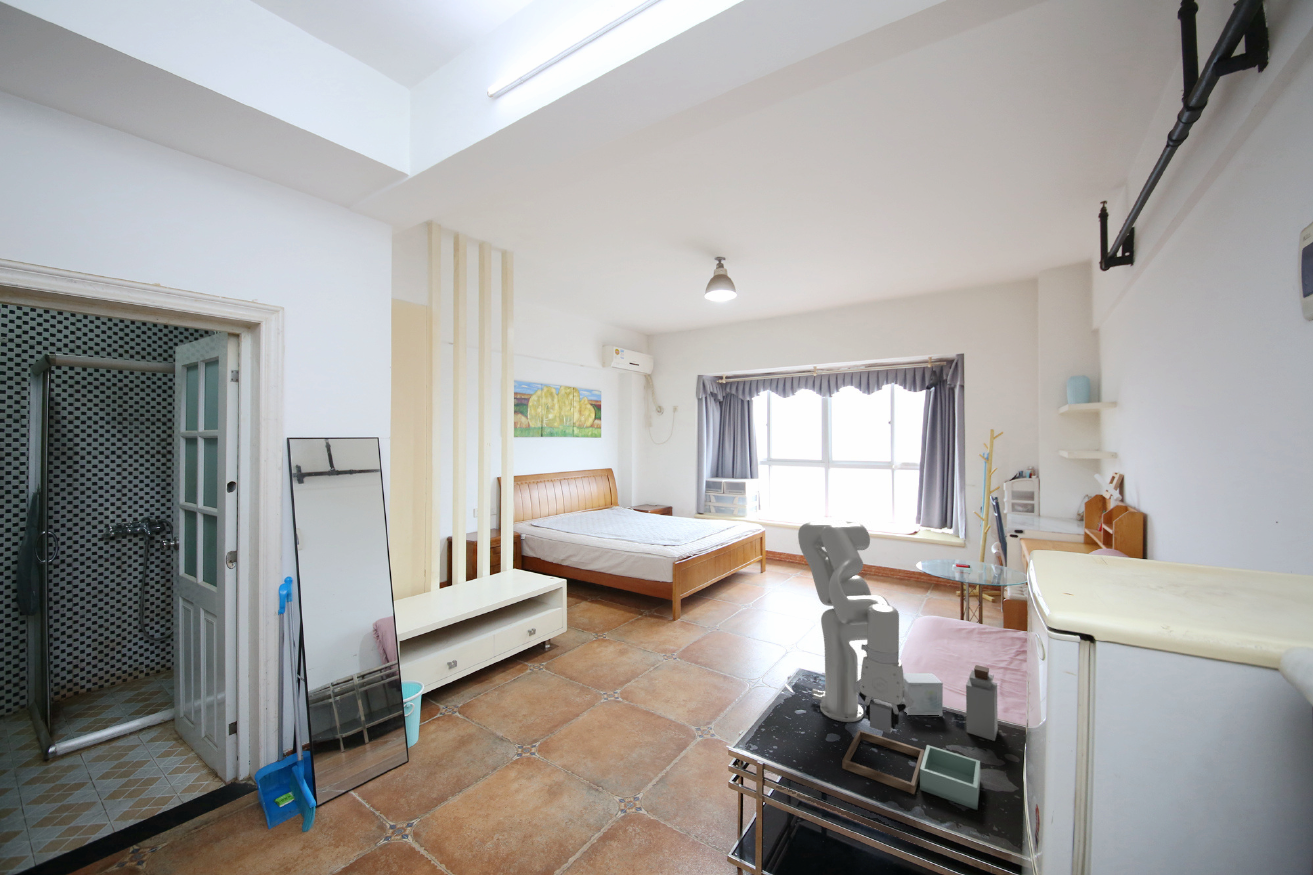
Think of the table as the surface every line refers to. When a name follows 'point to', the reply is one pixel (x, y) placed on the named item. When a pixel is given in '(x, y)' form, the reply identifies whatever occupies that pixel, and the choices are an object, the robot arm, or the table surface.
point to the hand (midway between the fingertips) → (882, 721)
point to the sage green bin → (950, 776)
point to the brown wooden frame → (879, 775)
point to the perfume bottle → (981, 704)
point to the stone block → (881, 715)
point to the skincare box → (924, 693)
